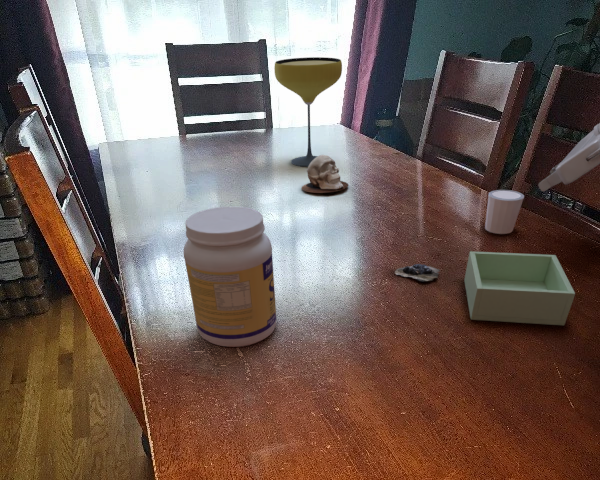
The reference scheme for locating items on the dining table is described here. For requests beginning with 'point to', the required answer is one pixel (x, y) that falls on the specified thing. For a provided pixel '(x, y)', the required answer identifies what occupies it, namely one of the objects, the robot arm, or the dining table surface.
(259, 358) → the dining table surface
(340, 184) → the skull
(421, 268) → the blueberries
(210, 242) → the supplement tub
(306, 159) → the cocktail glass
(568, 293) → the bin
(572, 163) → the robot arm
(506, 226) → the white cylinder
